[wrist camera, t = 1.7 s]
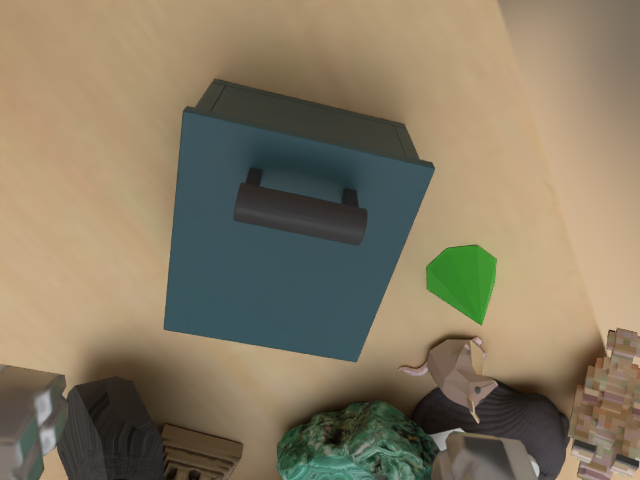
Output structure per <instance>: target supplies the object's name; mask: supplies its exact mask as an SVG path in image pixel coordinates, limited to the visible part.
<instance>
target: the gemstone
mask: <svg viewBox="0 0 640 480" xmlns="http://www.w3.org/2000/svg"><path fill="white" fill-rule="evenodd" d="M496 261H497V259H495V258H494V257H492V256H491V255H490V254H488V253H487V252H486V251H484V250H483V249H482V248H480V247H479V246H478V245H472V246H463V247H454V248H447V249H446V250H445V251H444V252H442V253H441V254H440V255H439V256H438V257H437V258H436V259H435V260H434V261H433V262H431V263H430V264H429V265H428V266H427V290H429V291H430V292H432V293H433V294H435V295H436V296H438V297H439V298H441V299H442V300H444V301H445V302H447V303H448V304H450V305H451V306H453V307H454V308H456V309H457V310H459V311H460V312H462V313H463V314H465V315H466V316H468V317H469V318H471V319H472V320H474V321H475V322H477V323H478V324H480V325H481V326H482V323H483V320H484V317H485V313H486V310H487V307H488V303H489V300H490V297H491V293H492V290H493V286H494V283H495V273H496Z"/></svg>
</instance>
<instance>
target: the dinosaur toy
mask: <svg viewBox="0 0 640 480" xmlns="http://www.w3.org/2000/svg"><path fill="white" fill-rule="evenodd" d="M607 337H608V340H607V348H606V349H609V350H612V354H611V358H609V357H605V356H604V358H603V359H602V358H599V357H597V360H596V363H595V367H593V366H590V365H589V366H588V370H587V375H586V380H585V382H584V385H583V386H582V385H577V389H576V394H575V399H574V403H573V408H572V413H571V419H570V425H569V431H568V436H569V437H572V438H574V439H573V445H572V451H571V455H572V456H575V457H577V459H578V460H581V461H580V464H579V468H578V472H577V477H579V478H581V479H582V480H610V478H611V477H612V472H614V473H617V474H620V475H623V476H624V474H625V475H628V476H631V477H632V475H633V474H634V473H635V472H636V470H637V469H638V468H639V461H640V368H638V365H636V364H632V361H633V358H634V356H637V357H640V337H639V336H638V335H637V332H633V331H629V330H624V329H620V328H617V330H616V333H615V331H614V330H609V331H608V336H607ZM638 460H639V461H638Z"/></svg>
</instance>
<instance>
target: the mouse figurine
mask: <svg viewBox="0 0 640 480" xmlns="http://www.w3.org/2000/svg"><path fill="white" fill-rule="evenodd" d="M481 344H482V340H481V339H480V338H478V337H475V338H474V339H472V340H446V341H444V342H443V343H441V344H440V345H438V346H436V347H435V348H433V349H432V350H430V351H429V355H428V361H427V362H426V363H425V364H424V365H423V366H422V367H421V368H419V369H412V368H409V367H401V368H400V369H398V370H404V371H406V372H407V373H408V374H410V375H414V376H420V375H423V374H425V373H426V372H428V371H429V372H430V373H431V375H432V377H433V378H434V380H435V382H436V383H437V385H438V386H439V388H440V389H441V390H442V392H443V393H444V394H445V395H446V397H447V398H449V399H450V400H452V401H453V402H456V403H458V404H460V405H463V406H465V407H467V408H469V411H470V413H471V414H472V416H473V417H474V418H475V420H476V421H477V423H479V418H478V417H477V415H476V413H475V409H474V408H475V407H476V406H477V405H478V404H479V403H482V402H483V401H484V398H485V397H486V396H487V395H488V394H489V393H490V392H491V391H492V390H493V389H494V388H495V387H496V386H498V384H497V383H496V381H495V380H493V379H492V378H489V377H486V376H483V375H482V361H483V360H484V358H485V355H486V352H483V350H482V348H481V346H480V345H481Z"/></svg>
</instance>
